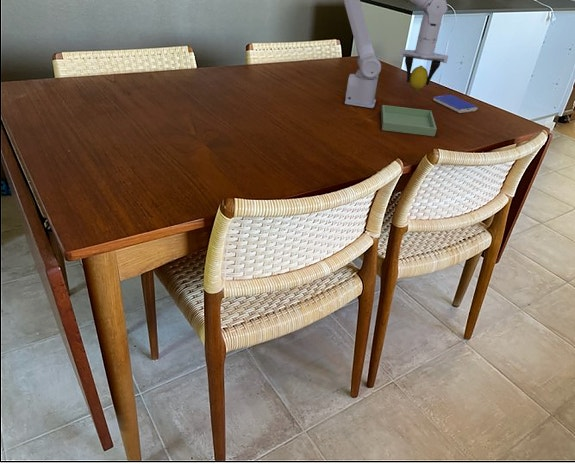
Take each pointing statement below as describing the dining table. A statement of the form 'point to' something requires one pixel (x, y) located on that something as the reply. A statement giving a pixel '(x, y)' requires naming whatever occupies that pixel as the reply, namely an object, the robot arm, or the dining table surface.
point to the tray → (408, 120)
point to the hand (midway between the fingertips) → (417, 82)
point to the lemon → (418, 78)
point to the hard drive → (455, 103)
